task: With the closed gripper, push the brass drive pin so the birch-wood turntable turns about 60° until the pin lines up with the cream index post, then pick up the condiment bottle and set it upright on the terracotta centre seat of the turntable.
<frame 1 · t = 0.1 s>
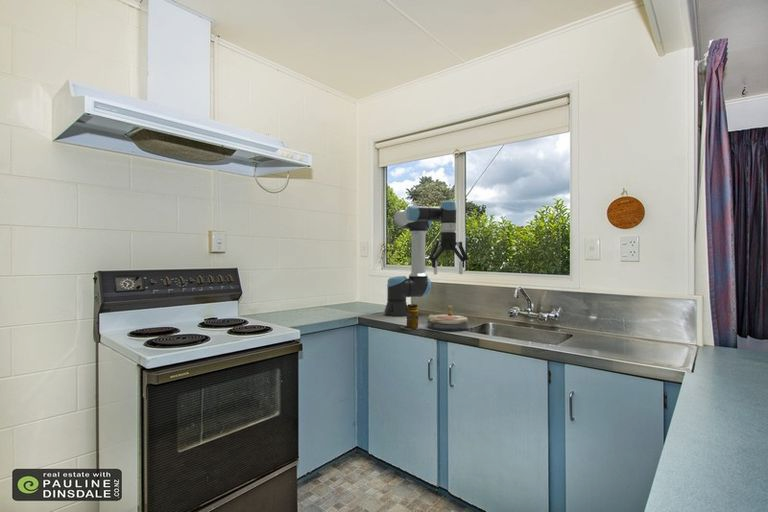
hand: (448, 274, 198), 28 cm above the worktop, fingers open, 13 cm apart
turntable base: (447, 326, 205), on the worktop
turntable: (447, 314, 205), point 7 cm above the worktop, hinge at 0.0°
condiment: (410, 328, 203), on the worktop
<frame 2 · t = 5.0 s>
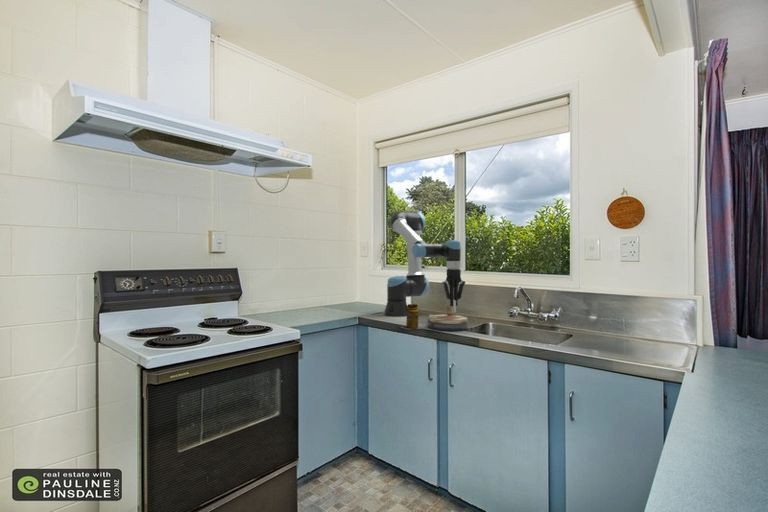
hand: (453, 311, 215), 6 cm above the worktop, fingers closed
turntable: (447, 314, 205), point 7 cm above the worktop, hinge at 2.9°, touching gripper
everything else where it was.
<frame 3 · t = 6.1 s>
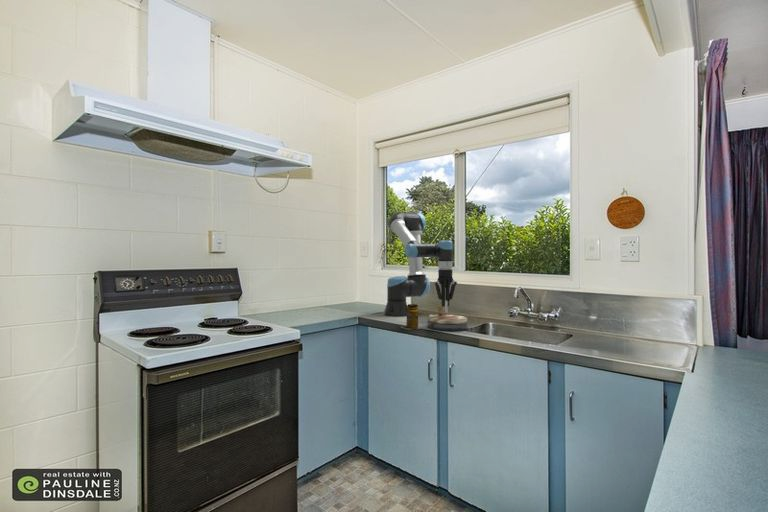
hand: (445, 312, 214), 6 cm above the worktop, fingers closed
turntable: (447, 314, 205), point 7 cm above the worktop, hinge at 36.3°, touching gripper
everything else where it was.
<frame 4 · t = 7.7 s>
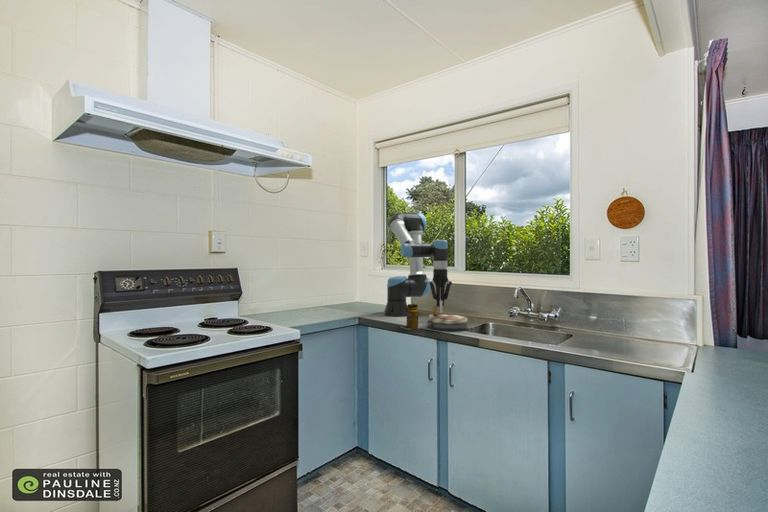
hand: (440, 312, 212), 6 cm above the worktop, fingers closed
turntable: (447, 314, 205), point 7 cm above the worktop, hinge at 59.1°, touching gripper
everything else where it was.
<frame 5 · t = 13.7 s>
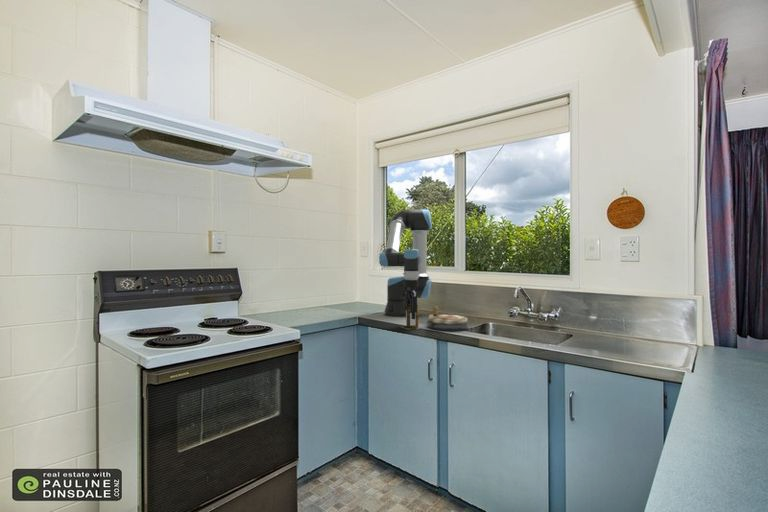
hand: (410, 323, 203), 2 cm above the worktop, fingers closed on condiment, 6 cm apart
turntable: (447, 314, 205), point 7 cm above the worktop, hinge at 59.3°
condiment: (410, 328, 203), on the worktop, touching gripper
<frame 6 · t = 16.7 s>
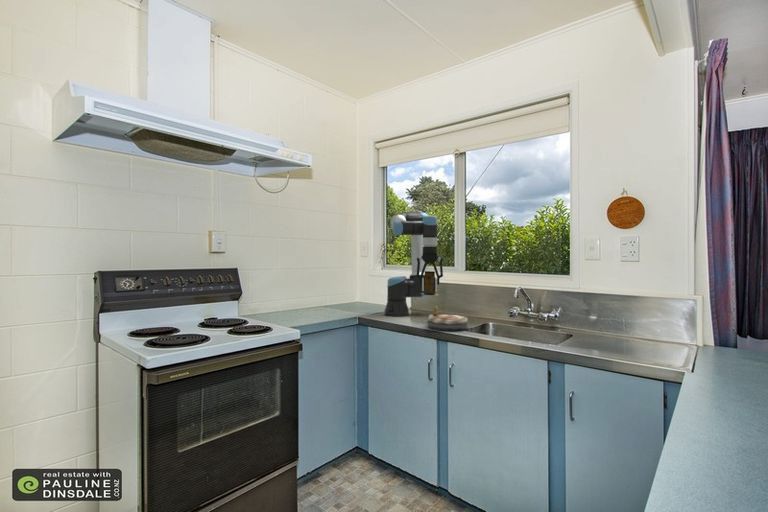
hand: (429, 290, 203), 19 cm above the worktop, fingers closed on condiment, 6 cm apart
condiment: (429, 295, 203), point 17 cm above the worktop, touching gripper
everything else where it was.
when the fingers open (9 cm above the worktop, at t = 19.7 s): condiment drops 2 cm, resting on turntable.
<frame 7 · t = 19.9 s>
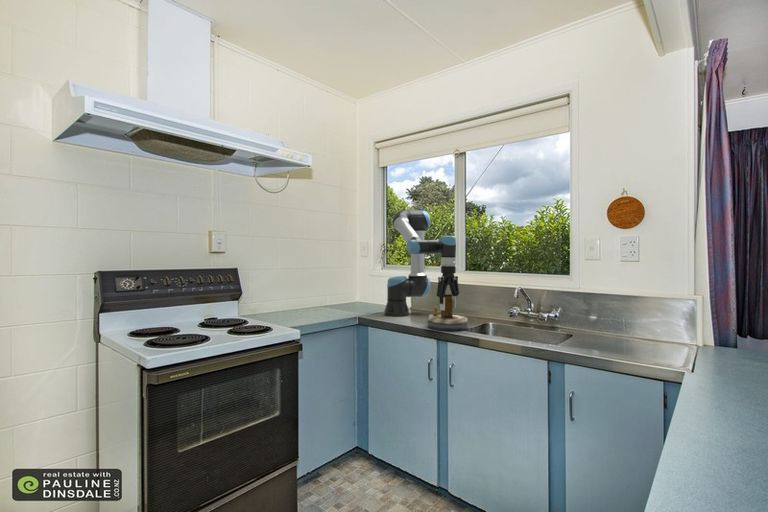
hand: (447, 309, 205), 9 cm above the worktop, fingers open, 8 cm apart
turntable: (447, 314, 205), point 7 cm above the worktop, hinge at 59.3°, touching condiment
condiment: (448, 317, 205), point 5 cm above the worktop, touching turntable
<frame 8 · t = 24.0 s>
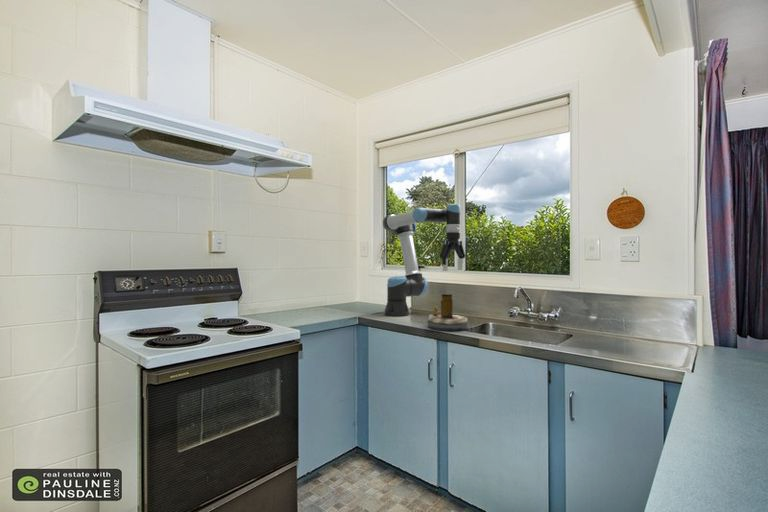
hand: (452, 270, 219), 29 cm above the worktop, fingers open, 13 cm apart
nothing on the worktop moved.
at the end: turntable at +59° (first picture: +0°); condiment 0.3 cm off-centre on the turntable, point 4.8 cm above the turntable's base; condiment tilted 0° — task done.
